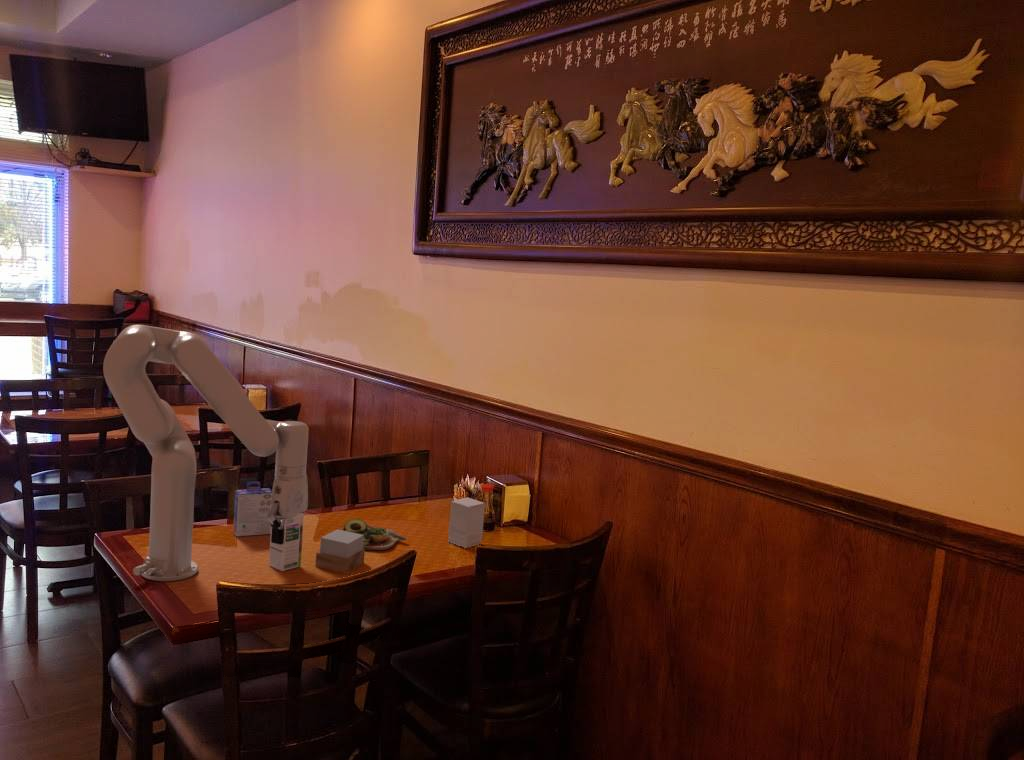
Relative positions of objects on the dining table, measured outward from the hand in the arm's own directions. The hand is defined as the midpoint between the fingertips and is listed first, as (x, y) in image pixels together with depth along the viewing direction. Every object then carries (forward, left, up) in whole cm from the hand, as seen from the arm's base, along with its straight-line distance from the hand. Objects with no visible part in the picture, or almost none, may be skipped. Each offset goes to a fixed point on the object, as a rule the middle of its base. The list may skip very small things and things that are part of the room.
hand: (286, 538), depth 200 cm
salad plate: (+29, -7, -8) cm, 31 cm away
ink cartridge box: (+16, +22, -8) cm, 28 cm away
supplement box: (+43, -32, -8) cm, 54 cm away
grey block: (+9, -11, -4) cm, 15 cm away
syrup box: (0, 0, -8) cm, 8 cm away
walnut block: (+9, -11, -8) cm, 16 cm away
